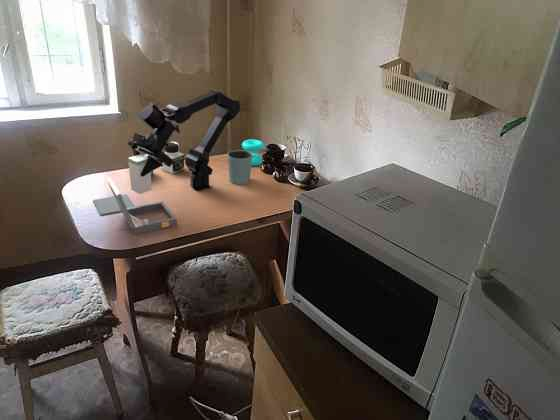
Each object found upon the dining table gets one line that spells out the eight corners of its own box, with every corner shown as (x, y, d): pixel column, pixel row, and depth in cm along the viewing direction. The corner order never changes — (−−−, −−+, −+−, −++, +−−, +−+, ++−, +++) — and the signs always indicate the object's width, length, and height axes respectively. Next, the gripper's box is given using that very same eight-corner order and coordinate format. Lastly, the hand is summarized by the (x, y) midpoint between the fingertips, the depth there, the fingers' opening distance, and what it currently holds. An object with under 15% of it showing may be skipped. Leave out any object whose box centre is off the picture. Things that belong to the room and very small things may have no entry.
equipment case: (163, 207, 156) (160, 168, 149) (177, 225, 145) (175, 184, 138) (111, 217, 147) (105, 176, 140) (122, 238, 136) (116, 195, 129)
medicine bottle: (173, 174, 183) (171, 147, 177) (160, 169, 186) (159, 143, 180) (184, 169, 188) (183, 143, 183) (172, 165, 191) (171, 139, 186)
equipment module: (143, 185, 155) (140, 154, 150) (152, 189, 153) (149, 158, 147) (130, 189, 152) (127, 157, 146) (139, 194, 149) (136, 162, 143)
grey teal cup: (256, 180, 183) (257, 153, 177) (241, 188, 175) (242, 160, 170) (237, 174, 187) (237, 147, 182) (222, 181, 180) (222, 154, 174)
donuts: (240, 138, 199) (261, 138, 201) (239, 159, 203) (260, 158, 206) (244, 146, 190) (266, 145, 193) (244, 167, 195) (265, 166, 198)
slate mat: (126, 195, 163) (126, 194, 162) (135, 208, 154) (135, 207, 154) (93, 201, 157) (92, 199, 157) (100, 215, 148) (100, 214, 148)
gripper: (129, 117, 149) (104, 154, 146) (163, 130, 139) (137, 170, 136) (149, 134, 158) (126, 170, 155) (183, 147, 148) (159, 186, 146)
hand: (136, 173), depth 148 cm, fingers closed on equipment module, 5 cm apart
